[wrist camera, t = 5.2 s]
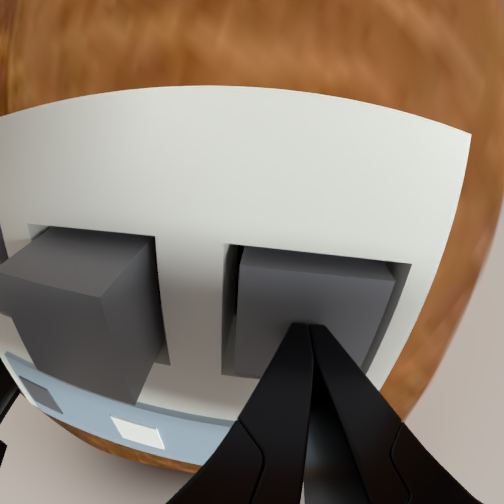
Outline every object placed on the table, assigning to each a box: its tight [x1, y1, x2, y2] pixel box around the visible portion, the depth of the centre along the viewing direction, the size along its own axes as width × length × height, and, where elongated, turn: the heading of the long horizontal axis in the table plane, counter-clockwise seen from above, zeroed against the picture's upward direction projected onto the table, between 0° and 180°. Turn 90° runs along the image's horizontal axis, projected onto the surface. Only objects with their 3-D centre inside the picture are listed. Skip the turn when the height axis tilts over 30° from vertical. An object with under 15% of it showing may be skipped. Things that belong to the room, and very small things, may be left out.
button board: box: [0, 86, 471, 465], centre depth 10 cm, size 16×18×3 cm
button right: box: [234, 245, 395, 376], centre depth 8 cm, size 4×4×3 cm
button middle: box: [0, 226, 165, 405], centre depth 7 cm, size 4×4×3 cm
